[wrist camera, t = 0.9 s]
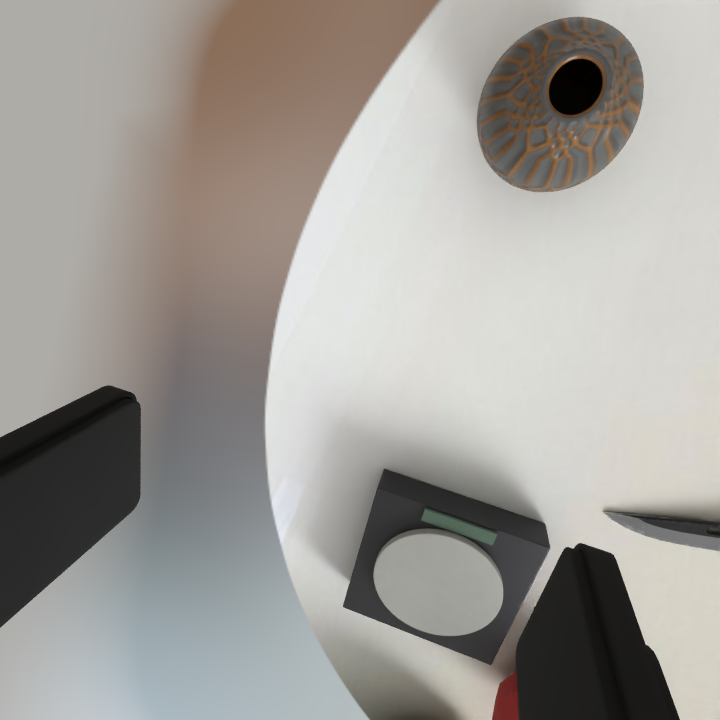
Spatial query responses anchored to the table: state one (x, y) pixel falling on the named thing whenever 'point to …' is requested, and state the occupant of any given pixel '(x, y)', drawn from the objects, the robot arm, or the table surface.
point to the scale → (445, 566)
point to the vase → (560, 104)
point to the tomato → (507, 700)
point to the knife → (672, 529)
